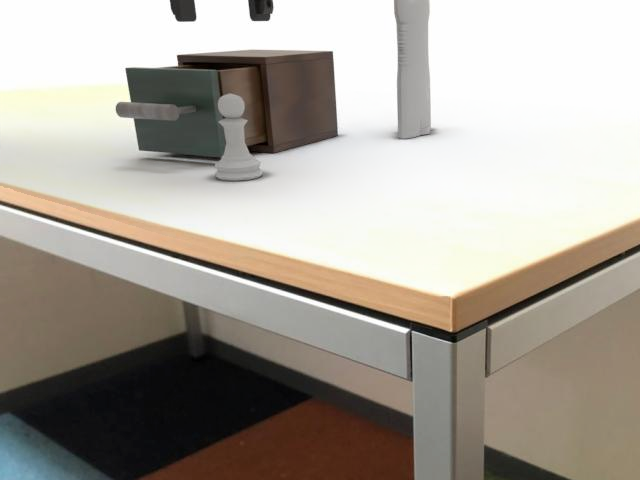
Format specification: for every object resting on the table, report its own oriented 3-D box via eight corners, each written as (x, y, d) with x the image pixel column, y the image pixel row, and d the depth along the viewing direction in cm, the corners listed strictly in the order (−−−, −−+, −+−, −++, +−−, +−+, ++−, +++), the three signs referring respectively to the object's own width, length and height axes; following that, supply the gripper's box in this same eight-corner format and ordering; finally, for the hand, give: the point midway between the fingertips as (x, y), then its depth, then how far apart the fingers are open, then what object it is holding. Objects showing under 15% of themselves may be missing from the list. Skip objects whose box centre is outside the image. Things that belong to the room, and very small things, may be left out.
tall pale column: (415, 139, 96) (412, -52, 88) (386, 138, 98) (379, -51, 89) (441, 128, 106) (440, -46, 97) (414, 127, 107) (410, -45, 98)
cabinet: (274, 153, 88) (265, 56, 83) (189, 146, 92) (176, 54, 88) (338, 135, 100) (333, 51, 96) (260, 130, 104) (252, 49, 100)
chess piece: (205, 179, 74) (194, 94, 71) (231, 170, 78) (222, 90, 75) (247, 182, 72) (237, 96, 69) (271, 173, 77) (264, 91, 73)
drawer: (192, 164, 76) (179, 73, 73) (108, 157, 80) (92, 70, 77) (291, 139, 91) (285, 62, 88) (216, 134, 95) (207, 60, 92)
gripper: (294, -186, 64) (309, 21, 70) (163, -170, 69) (189, 21, 75) (239, -207, 57) (262, 22, 64) (99, -188, 62) (133, 22, 69)
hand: (222, 21), depth 70 cm, fingers open, 8 cm apart
